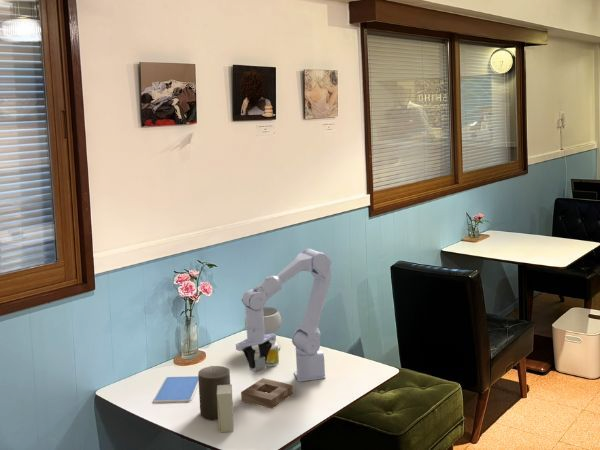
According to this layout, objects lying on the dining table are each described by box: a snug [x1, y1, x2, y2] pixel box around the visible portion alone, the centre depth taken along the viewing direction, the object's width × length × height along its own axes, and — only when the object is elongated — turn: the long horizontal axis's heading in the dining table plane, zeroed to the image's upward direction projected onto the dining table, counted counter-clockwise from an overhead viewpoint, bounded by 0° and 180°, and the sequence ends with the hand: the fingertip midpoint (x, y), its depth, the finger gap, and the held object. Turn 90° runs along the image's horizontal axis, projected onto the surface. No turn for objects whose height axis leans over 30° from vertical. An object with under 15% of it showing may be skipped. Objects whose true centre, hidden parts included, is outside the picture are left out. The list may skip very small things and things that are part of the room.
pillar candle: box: [197, 365, 231, 421], centre depth 202 cm, size 10×10×15 cm
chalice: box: [244, 306, 282, 354], centre depth 253 cm, size 14×14×15 cm
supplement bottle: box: [266, 339, 280, 367], centre depth 239 cm, size 5×5×10 cm
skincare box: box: [217, 383, 235, 433], centre depth 193 cm, size 6×4×12 cm
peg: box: [248, 353, 267, 374], centre depth 217 cm, size 4×4×5 cm
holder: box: [240, 377, 294, 410], centre depth 212 cm, size 12×12×3 cm
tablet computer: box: [152, 375, 199, 404], centre depth 221 cm, size 19×13×1 cm, turn 178°
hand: (257, 365), depth 217 cm, fingers closed on peg, 4 cm apart
